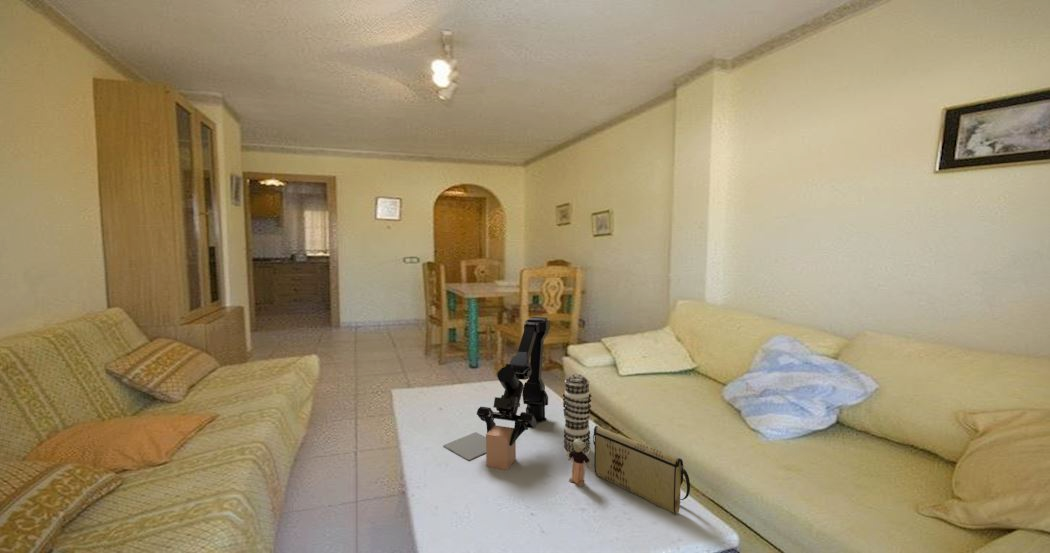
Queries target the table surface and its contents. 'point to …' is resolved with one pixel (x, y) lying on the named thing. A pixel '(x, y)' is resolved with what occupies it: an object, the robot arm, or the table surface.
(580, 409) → the decorative candle
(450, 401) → the table surface
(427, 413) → the table surface
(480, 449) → the rubber mat
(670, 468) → the clutch purse
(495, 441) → the tan cardboard box
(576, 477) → the grandmother figurine
